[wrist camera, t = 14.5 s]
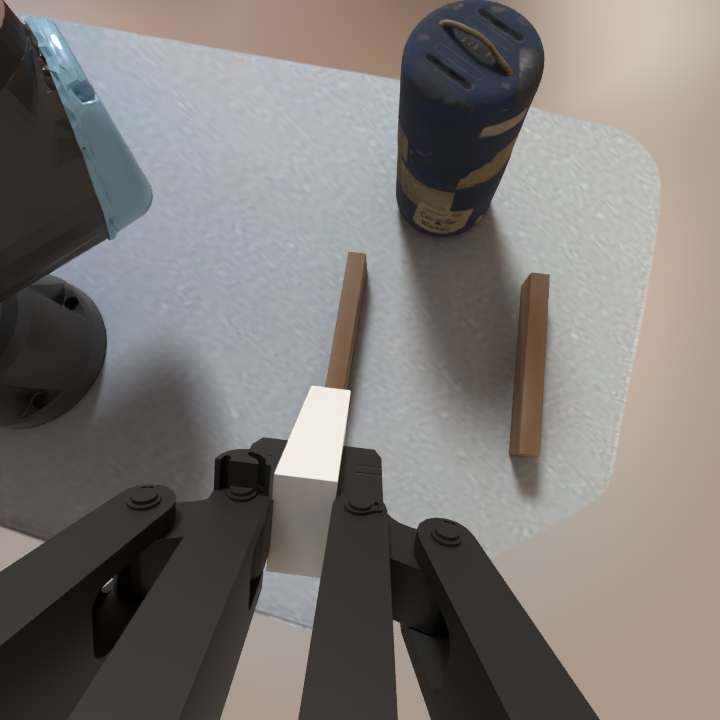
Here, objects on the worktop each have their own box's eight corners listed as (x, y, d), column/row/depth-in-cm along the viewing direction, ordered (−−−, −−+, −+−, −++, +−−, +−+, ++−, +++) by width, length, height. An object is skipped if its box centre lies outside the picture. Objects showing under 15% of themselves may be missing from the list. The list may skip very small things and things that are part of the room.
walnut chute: (323, 426, 40) (318, 423, 37) (351, 266, 43) (348, 251, 41) (527, 457, 38) (539, 456, 35) (538, 288, 42) (549, 274, 39)
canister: (455, 145, 46) (498, -51, 29) (508, 213, 44) (589, 45, 26) (377, 188, 45) (373, 14, 28) (427, 259, 43) (456, 118, 26)
